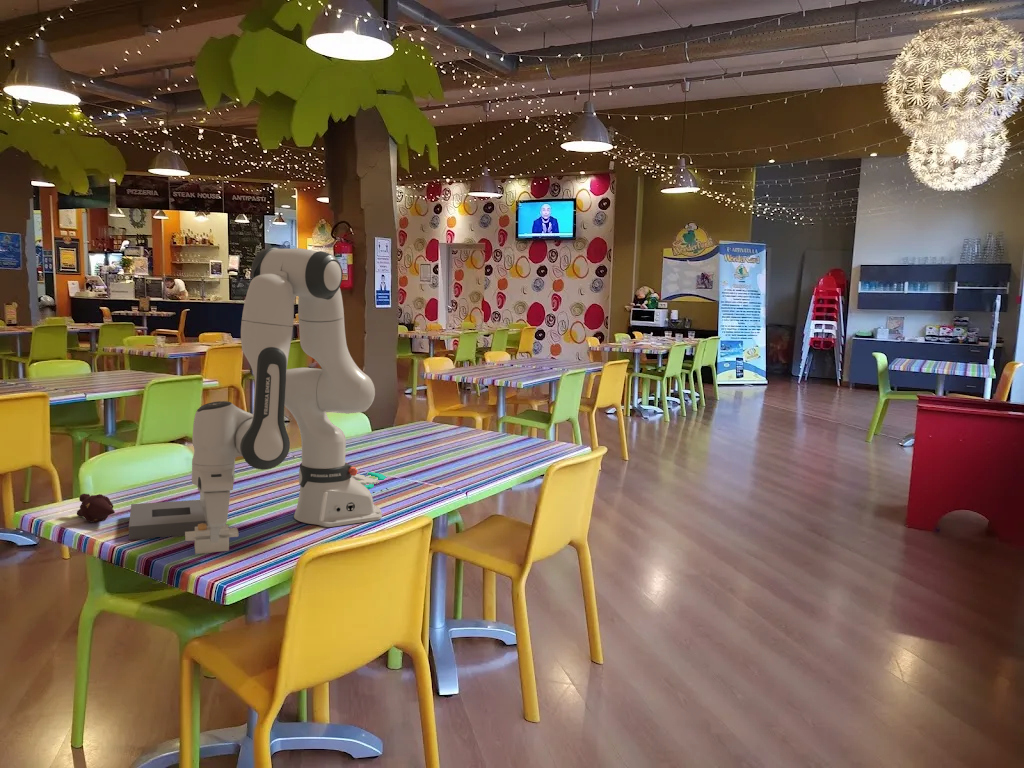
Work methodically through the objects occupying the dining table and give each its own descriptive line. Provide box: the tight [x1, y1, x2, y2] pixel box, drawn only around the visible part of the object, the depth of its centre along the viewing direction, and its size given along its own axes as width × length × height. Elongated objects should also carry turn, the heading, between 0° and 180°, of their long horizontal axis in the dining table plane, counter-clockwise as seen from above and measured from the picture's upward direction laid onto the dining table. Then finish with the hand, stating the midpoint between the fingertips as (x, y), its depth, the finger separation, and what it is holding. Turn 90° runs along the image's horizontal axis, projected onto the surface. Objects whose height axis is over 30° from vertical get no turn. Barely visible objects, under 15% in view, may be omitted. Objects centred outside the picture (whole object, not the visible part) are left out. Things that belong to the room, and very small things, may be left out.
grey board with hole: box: [128, 499, 206, 541], centre depth 182 cm, size 18×18×3 cm
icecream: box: [76, 493, 115, 524], centre depth 181 cm, size 7×7×15 cm
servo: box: [184, 523, 240, 555], centre depth 167 cm, size 11×4×6 cm, turn 115°
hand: (212, 535), depth 166 cm, fingers open, 8 cm apart
